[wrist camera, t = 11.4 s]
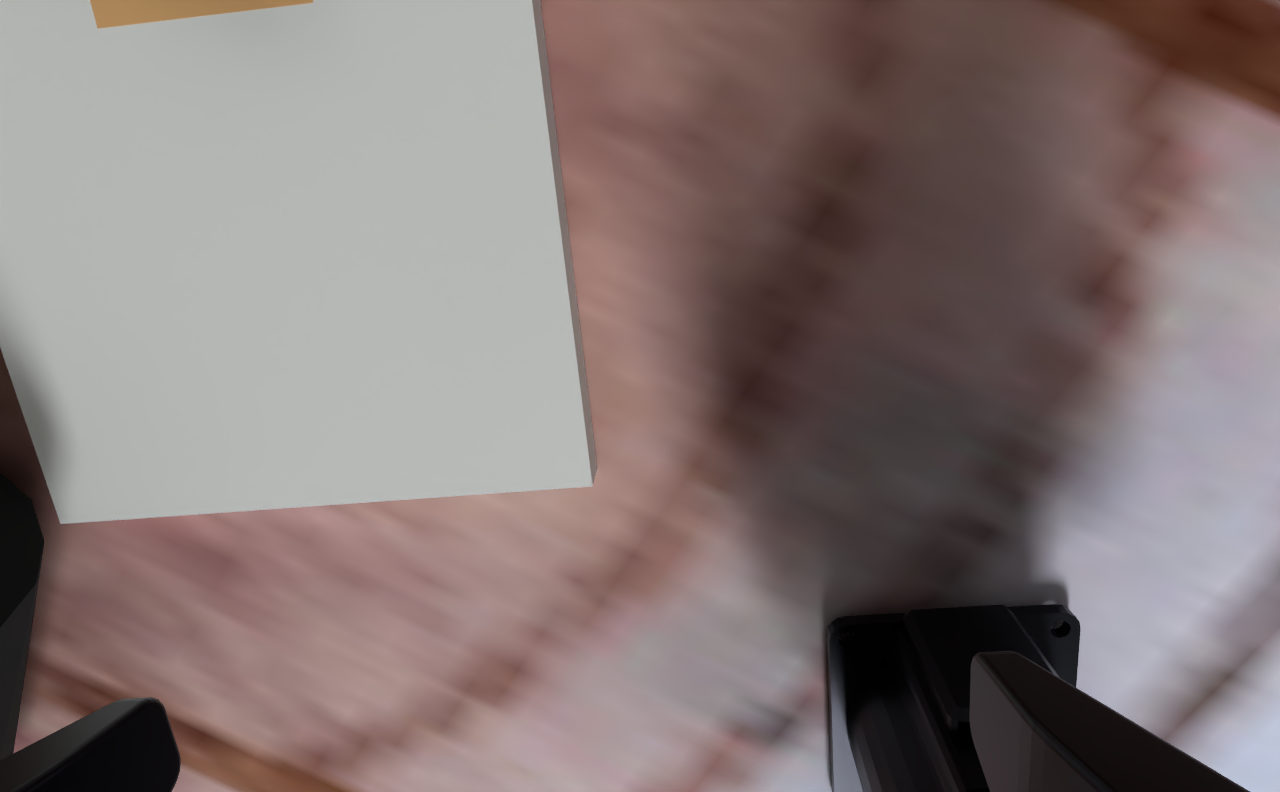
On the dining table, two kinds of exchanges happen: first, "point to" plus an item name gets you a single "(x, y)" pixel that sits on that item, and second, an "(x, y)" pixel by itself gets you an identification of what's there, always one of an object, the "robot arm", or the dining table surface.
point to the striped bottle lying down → (16, 600)
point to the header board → (286, 254)
